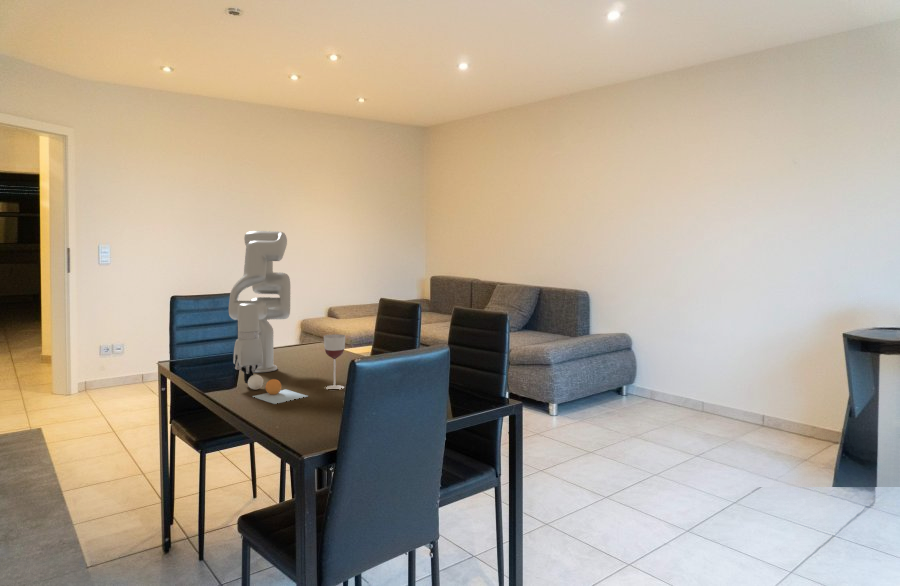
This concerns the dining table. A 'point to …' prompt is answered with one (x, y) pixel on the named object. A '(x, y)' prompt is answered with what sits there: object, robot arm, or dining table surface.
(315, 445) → the dining table surface
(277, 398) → the blue mark
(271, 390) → the orange ball
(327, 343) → the wineglass
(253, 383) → the cue ball
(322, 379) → the dining table surface
